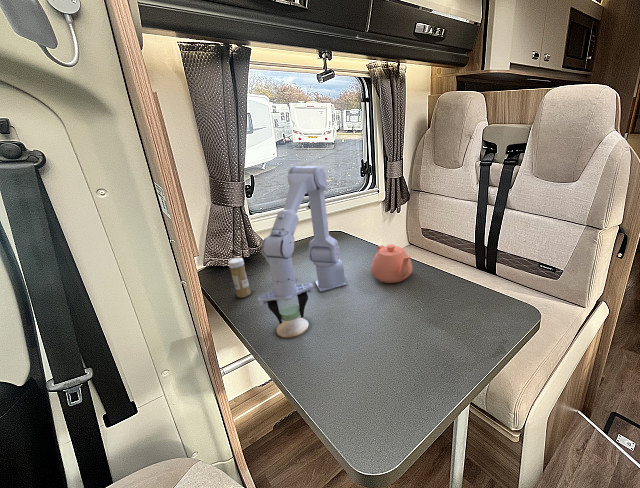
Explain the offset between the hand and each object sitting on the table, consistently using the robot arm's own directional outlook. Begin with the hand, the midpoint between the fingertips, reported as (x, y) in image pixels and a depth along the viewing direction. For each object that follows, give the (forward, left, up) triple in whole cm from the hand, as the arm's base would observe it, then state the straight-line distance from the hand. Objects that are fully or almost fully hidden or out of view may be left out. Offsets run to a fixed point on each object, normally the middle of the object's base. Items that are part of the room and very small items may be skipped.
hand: (291, 318), depth 91 cm
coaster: (0, 0, -3) cm, 3 cm away
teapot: (-39, -13, -3) cm, 42 cm away
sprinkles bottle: (+12, -28, -3) cm, 31 cm away
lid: (0, 0, +3) cm, 3 cm away
